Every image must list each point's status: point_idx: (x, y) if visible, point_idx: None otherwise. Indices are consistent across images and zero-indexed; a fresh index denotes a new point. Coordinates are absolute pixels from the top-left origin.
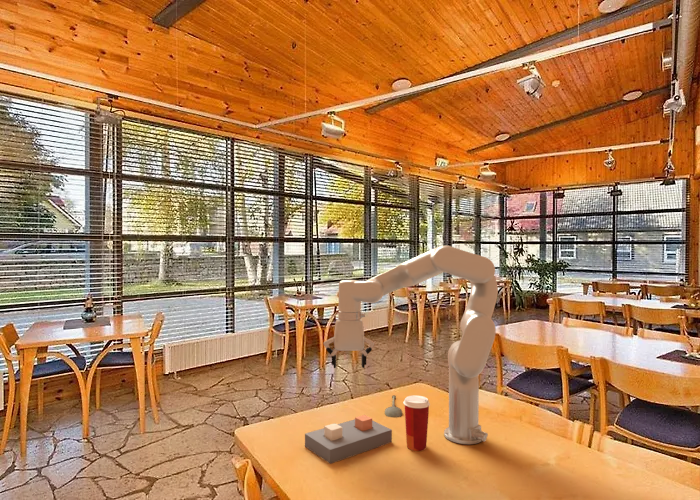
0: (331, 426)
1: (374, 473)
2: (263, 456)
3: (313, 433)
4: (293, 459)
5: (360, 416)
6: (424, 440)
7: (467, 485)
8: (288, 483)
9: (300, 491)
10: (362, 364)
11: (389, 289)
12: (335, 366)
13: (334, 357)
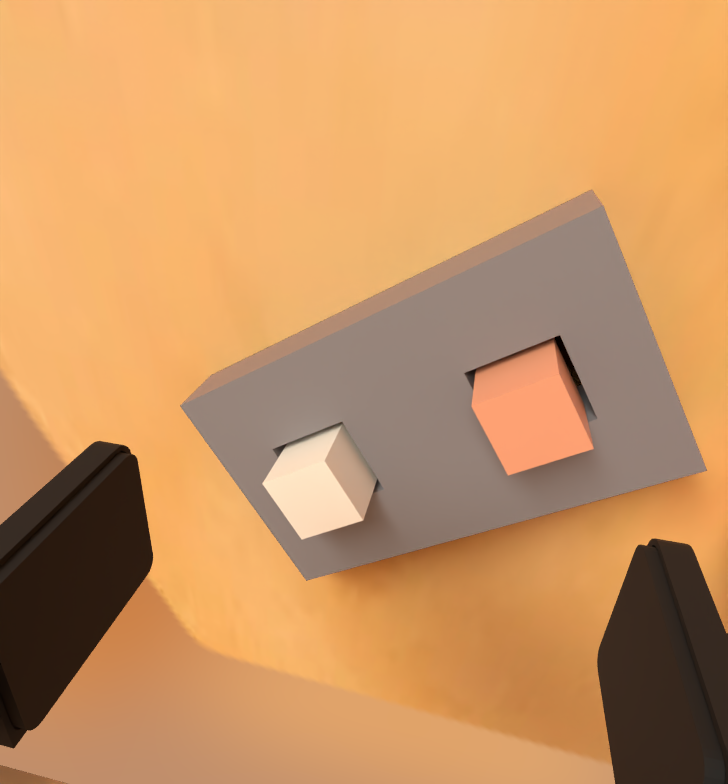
0: (302, 496)
1: (483, 635)
2: (59, 424)
3: (223, 414)
4: (179, 474)
5: (516, 397)
6: None
7: None
8: (189, 604)
9: (230, 646)
10: (605, 714)
11: None
12: (136, 581)
13: (12, 720)
